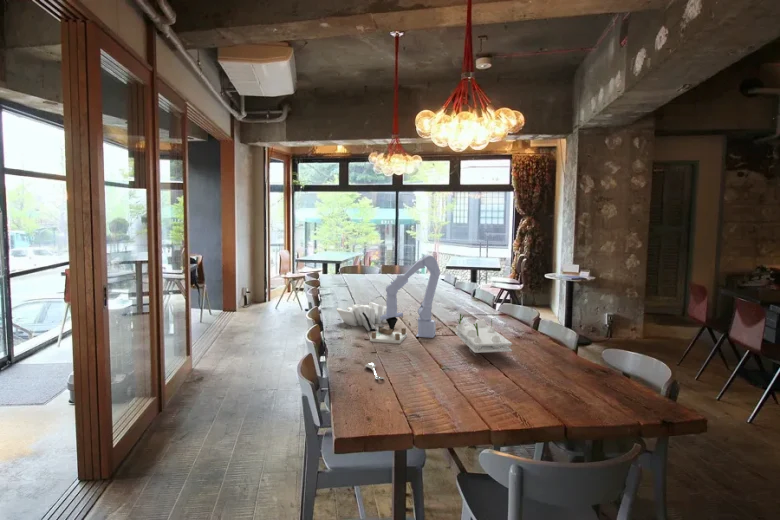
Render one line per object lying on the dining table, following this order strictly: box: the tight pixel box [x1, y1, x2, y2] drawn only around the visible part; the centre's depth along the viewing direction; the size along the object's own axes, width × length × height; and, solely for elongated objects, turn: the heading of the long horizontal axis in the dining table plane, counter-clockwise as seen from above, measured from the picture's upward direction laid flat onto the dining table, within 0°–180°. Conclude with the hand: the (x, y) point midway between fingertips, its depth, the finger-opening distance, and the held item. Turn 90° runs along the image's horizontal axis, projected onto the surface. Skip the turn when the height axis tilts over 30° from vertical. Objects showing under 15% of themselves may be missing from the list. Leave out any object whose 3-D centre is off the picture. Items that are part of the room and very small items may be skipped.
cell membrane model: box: [454, 313, 513, 357], centre depth 225 cm, size 35×21×17 cm, turn 6°
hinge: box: [359, 312, 377, 332], centre depth 274 cm, size 17×5×10 cm, turn 15°
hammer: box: [377, 325, 394, 335], centre depth 255 cm, size 9×3×3 cm, turn 42°
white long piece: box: [364, 362, 385, 380], centre depth 193 cm, size 20×4×5 cm
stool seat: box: [369, 327, 408, 344], centre depth 250 cm, size 16×16×4 cm
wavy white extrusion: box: [335, 302, 388, 327], centre depth 289 cm, size 35×16×11 cm, turn 112°
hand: (391, 331), depth 254 cm, fingers closed
